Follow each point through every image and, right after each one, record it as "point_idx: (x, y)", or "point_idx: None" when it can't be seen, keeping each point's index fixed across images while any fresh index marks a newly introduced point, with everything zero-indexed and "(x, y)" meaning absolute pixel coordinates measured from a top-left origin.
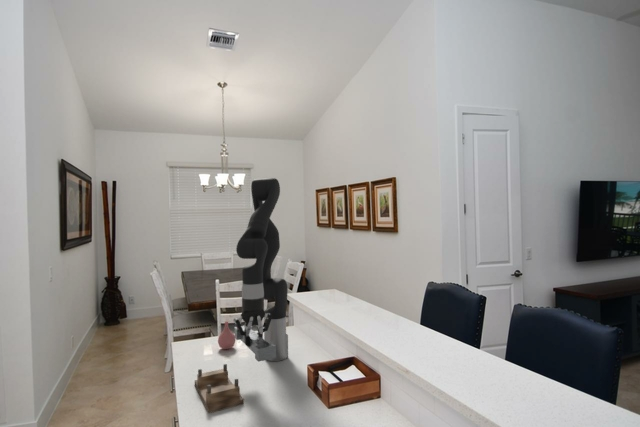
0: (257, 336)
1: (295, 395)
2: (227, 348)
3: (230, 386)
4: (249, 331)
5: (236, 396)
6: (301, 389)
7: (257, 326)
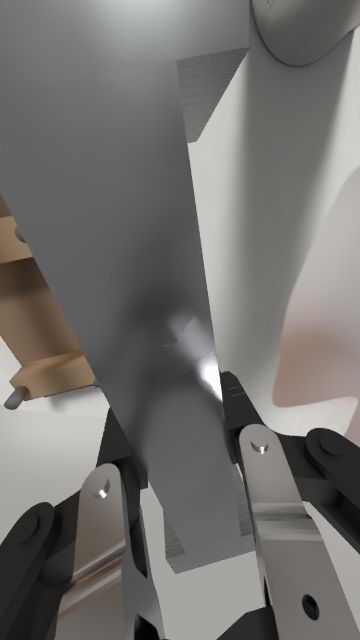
0: (210, 467)
1: (243, 357)
2: None
3: (85, 371)
4: (143, 556)
5: None
6: (266, 336)
7: (258, 556)
